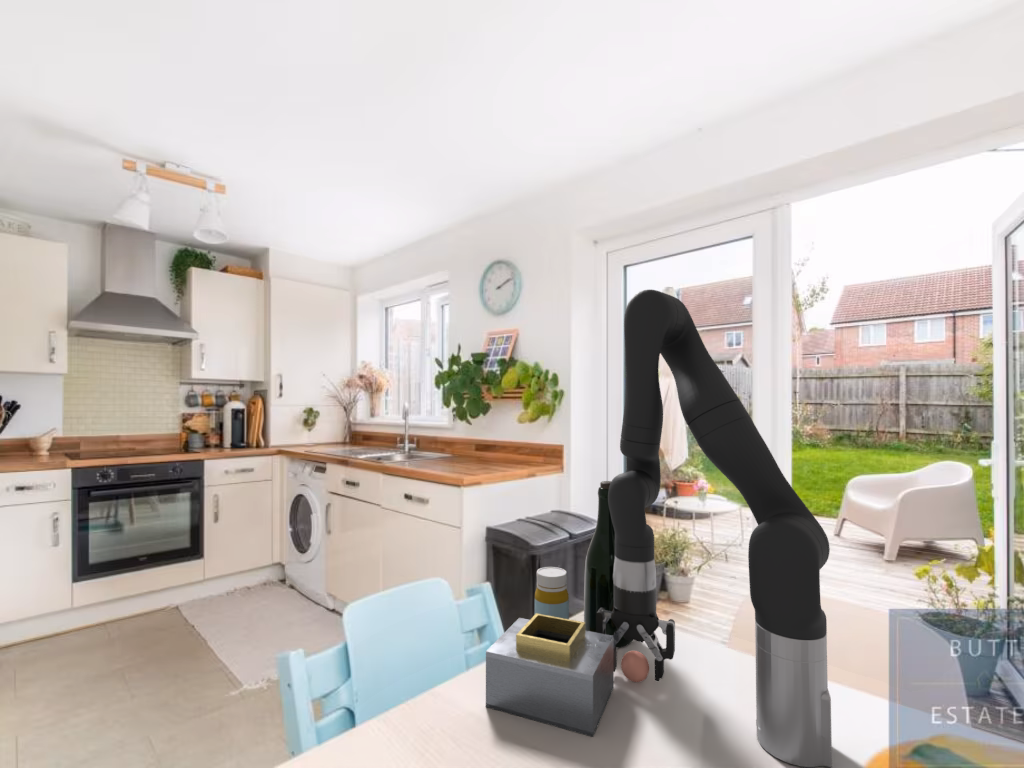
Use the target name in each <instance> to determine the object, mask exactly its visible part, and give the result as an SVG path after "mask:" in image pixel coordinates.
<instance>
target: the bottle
mask: <svg viewBox="0 0 1024 768" xmlns="http://www.w3.org/2000/svg"><path fill="white" fill-rule="evenodd" d="M567 575H568V573H567V570H565V569H564V568H561V567H557V566H543V567H540V568H538V569H537V570H536V589H535V592H534V615H535V614H536V613H537V614H543V615H548V616H554V617H559V618H564V619H570V609H569V607H570V601H569V600H570V597H569V594H570V593H569V592H568V589H567V585H568V584H567V583H568V582H567V581H568V579H567V577H568V576H567Z"/></svg>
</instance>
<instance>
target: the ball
mask: <svg viewBox="0 0 1024 768" xmlns="http://www.w3.org/2000/svg"><path fill="white" fill-rule="evenodd" d="M620 669H621V672H622V674H623V676H625V678H626V679H627V681H630V682H633V683H641V682H644V681H645V680H646V679H647V678H648V676H649V674H650V663H649V660H648V659H647V657H646V656H645V654H643V653H642V652H640V651H638V650H629V651H627V652H626V653H624V654H623V656H622V657H621V661H620Z"/></svg>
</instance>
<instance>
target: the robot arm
mask: <svg viewBox="0 0 1024 768" xmlns="http://www.w3.org/2000/svg"><path fill="white" fill-rule="evenodd" d="M690 313H691V312H689V308H687V306H686V305H685V304H684V302H682V301H681V300H680V299H679V298H677V297H676V296H673V295H671V294H668V293H666V292H662V291H660V290H655V289H644V290H641V291H638V292H637V293H636V294H634V295H633V296H632V297H631V298H630V299H629V301H628V303H627V305H626V307H625V311H624V316H623V317H624V319H623V321H624V323H623V324H624V325H623V327H624V328H623V330H624V332H623V333H624V334H623V335H624V357H625V358H624V360H625V363H624V364H625V389H624V390H625V391H624V392H625V393H624V395H625V396H624V409H623V417H622V424H621V432H620V433H621V434H620V440H619V441H620V443H619V450H620V452H621V453H622V455H623V456H625V465H626V466H625V472H622V473H619V474H617V475H616V476H615V477H614V476H613V478H612V480H610V481H611V483H610V486H609V491H608V504H609V510H610V514H611V519H612V523H613V527H614V531H615V560H614V569H613V585H614V609H613V611H607V610H605V609H604V608H600V609H599V610H598V612H597V614H596V633H601V634H606V623H607V622H608V620H609V618H611V619H612V621H613V623H614V624H615V626H616V627H617V630H616V631H615V633H614V634H613V647H614V673H615V672H616V670H617V665H618V657H617V656H618V651H617V650H618V648H617V647H615V645H616V644H617V643H618V642H619V640H620V639H621V637H622V636H623V637H624V638H625V639H627V640H633V641H635V642H638V643H644V642H645V645H646V646H647V648H648V650H650V651H651V653H652V655H653V656H654V682H659V683H660V680H661V679H663V678H664V674H665V660H667V659H668V660H669V661H670V660H671V661H672V660H673V659H674V657H675V656H674V655H675V651H676V622H675V620H674V619H672V618H671V619H668V620H664V619H659V616H658V614H657V569H656V561H655V559H656V558H655V533H654V530H653V528H652V527H651V525H649V524H647V519H646V517H647V516H646V508H647V507H650V506H651V505H653V504H655V502H656V501H657V499H658V496H659V494H660V490H661V481H662V479H661V476H662V475H661V461H660V447H661V441H662V440H661V439H662V433H663V431H662V430H663V424H664V404H663V398H662V393H661V387H660V380H659V377H660V376H659V375H660V374H659V367H660V366H659V365H660V364H659V363H660V355H661V357H662V358H663V360H664V361H665V363H666V364H667V366H668V367H669V369H670V372H671V373H672V376H673V379H674V382H675V386H676V392H677V398H678V403H679V407H680V411H681V414H682V417H683V419H684V421H685V423H686V425H687V426H688V428H689V431H690V432H691V433H692V436H693V438H694V439H695V441H696V443H697V444H698V447H699V448H700V449H701V451H702V453H703V454H704V455H705V456H706V457H707V459H708V460H709V461H710V462H711V463H712V464H713V465H714V466H715V467H716V469H718V470H719V472H720V473H722V475H723V476H725V477H726V479H727V480H728V481H730V483H731V484H733V486H734V487H735V488H736V489H737V490H738V492H739V493H740V495H741V496H742V497H743V499H744V501H745V502H746V504H747V505H748V507H749V510H750V512H751V513H752V516H753V517H754V519H755V521H756V523H757V526H756V527H755V528H754V529H753V530H752V531H751V535H750V537H749V541H748V552H747V553H748V557H747V558H748V577H749V595H750V600H751V604H752V606H753V609H754V622H755V623H754V626H755V627H754V631H755V632H754V633H755V634H754V636H755V641H754V642H755V703H756V705H755V707H756V708H755V709H756V710H755V711H756V712H755V713H756V720H755V721H756V722H755V726H756V738H757V739H756V740H758V742H759V745H760V746H761V747H762V748H763V749H764V750H765V751H766V752H767V753H769V754H770V755H771V756H773V757H774V758H776V759H778V760H780V761H782V762H785V763H787V764H790V765H794V766H796V767H797V766H799V767H802V768H803V767H804V768H816V767H817V768H818V767H828V768H832V767H833V754H832V753H833V752H832V751H833V749H832V748H833V746H832V745H833V743H832V700H831V699H832V698H831V694H830V691H829V688H828V686H829V685H828V638H827V637H828V635H827V634H828V632H827V631H828V629H827V626H828V625H827V616H826V613H825V611H824V609H822V604H821V582H820V581H821V580H820V579H821V578H820V572H821V571H820V570H821V569H822V568H823V567H824V566H825V565H826V563H827V562H828V560H829V557H830V549H831V547H830V541H829V537H828V535H827V533H826V532H825V529H823V526H821V524H820V522H819V521H818V520H817V518H816V517H815V516H814V514H813V513H812V512H811V511H810V510H809V508H808V506H806V504H805V503H804V502H803V500H802V499H801V498H800V496H799V495H798V493H797V492H796V491H795V489H794V488H793V487H792V485H791V484H790V483H789V481H788V480H787V478H786V477H785V475H784V473H782V470H781V468H780V466H779V465H778V463H777V461H776V459H775V457H774V456H773V454H772V452H771V450H770V448H769V447H768V445H767V443H766V441H765V440H764V438H763V436H762V435H761V434H760V432H759V430H758V428H757V427H756V425H755V422H754V421H753V419H752V417H751V416H750V415H751V414H749V412H748V410H747V409H746V407H745V406H744V404H743V403H742V401H741V399H740V398H739V396H738V394H736V392H735V391H734V389H733V387H732V385H731V384H730V383H729V381H728V379H727V378H726V376H725V375H724V373H723V372H722V370H721V369H720V367H719V366H718V365H717V364H716V362H715V361H714V359H713V357H712V356H711V354H710V353H709V351H708V350H707V348H706V346H705V344H704V342H703V339H702V337H701V336H700V333H699V331H698V329H697V327H696V324H695V323H694V320H693V318H692V316H691V314H690ZM658 628H660V630H661V632H662V634H663V635H665V636H666V637H665V638H666V639H665V640H666V641H665V648H663V646H662V645H661V643H660V641H659V637H658V636H657V634H656V633H655V632H656V630H657V629H658Z"/></svg>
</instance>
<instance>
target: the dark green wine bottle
mask: <svg viewBox="0 0 1024 768" xmlns="http://www.w3.org/2000/svg"><path fill="white" fill-rule="evenodd" d="M611 481H612V480H602V481H601V482H600V483H599V485H600V487H598V490H597V496H598V498H597V499H598V501H597V502H598V504H597V509H598V510H597V518H596V519H597V520H596V527H595V530H594V533H593V535H592V538H591V541H590V543H589V545H588V546H589V547H588V549H587V551H586V552H587V553H586V557H585V562H584V563H585V564H584V565H585V566H584V584H583V586H584V587H583V589H584V590H583V593H584V594H583V602H584V603H583V622H585V630H586V631H591V632H596V614H597V612H598V610H599V609H600V608H604V609H605V610H607V611H613V609H614V585H613V569H614V560H615V531H614V527H613V523H612V519H611V514H610V510H609V504H608V491H609V486H610V483H611ZM616 630H617V627H616V626H615V624H614V623H613V621H612V619H611V618H609V620H608V622H607V623H606V635H612V636H613V634H614V633H615V631H616ZM633 642H634V640H627V639H625V638H624V637H623V636H622V637H621V639H620V640H619V642H618V643H617V644H616V645H615V647H617V649H621V648H625V647H627V646H629V645H631V644H632V643H633Z"/></svg>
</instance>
